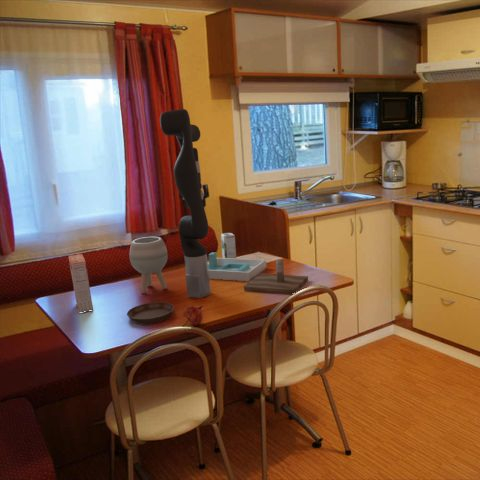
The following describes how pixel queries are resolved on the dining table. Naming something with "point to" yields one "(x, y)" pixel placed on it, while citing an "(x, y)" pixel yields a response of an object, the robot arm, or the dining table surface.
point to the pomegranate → (193, 315)
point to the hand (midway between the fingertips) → (195, 207)
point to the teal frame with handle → (226, 264)
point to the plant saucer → (150, 312)
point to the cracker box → (80, 282)
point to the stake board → (276, 282)
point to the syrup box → (228, 245)
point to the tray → (248, 275)
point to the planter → (148, 259)
